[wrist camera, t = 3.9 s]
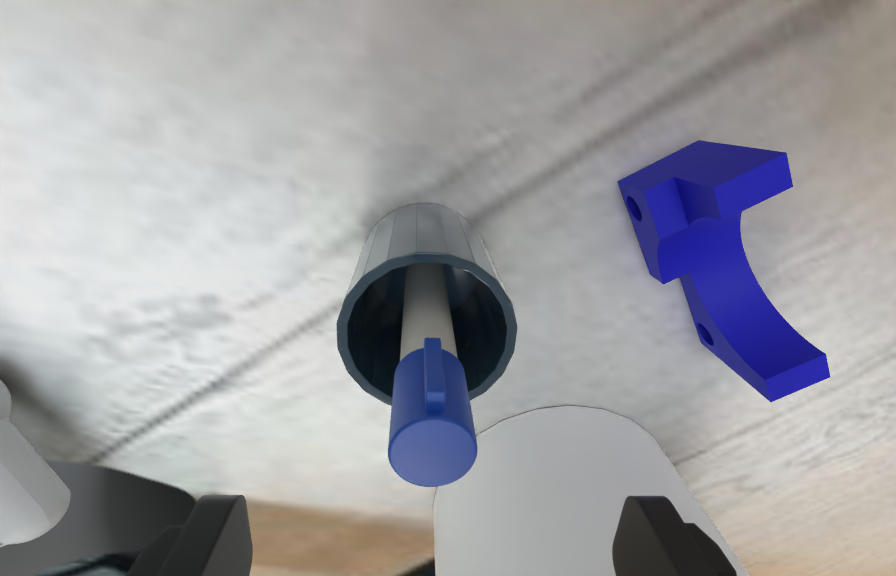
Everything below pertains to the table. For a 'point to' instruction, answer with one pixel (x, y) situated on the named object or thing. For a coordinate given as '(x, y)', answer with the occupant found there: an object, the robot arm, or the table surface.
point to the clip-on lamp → (25, 484)
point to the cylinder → (555, 496)
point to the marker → (430, 388)
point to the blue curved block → (721, 257)
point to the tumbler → (382, 299)
